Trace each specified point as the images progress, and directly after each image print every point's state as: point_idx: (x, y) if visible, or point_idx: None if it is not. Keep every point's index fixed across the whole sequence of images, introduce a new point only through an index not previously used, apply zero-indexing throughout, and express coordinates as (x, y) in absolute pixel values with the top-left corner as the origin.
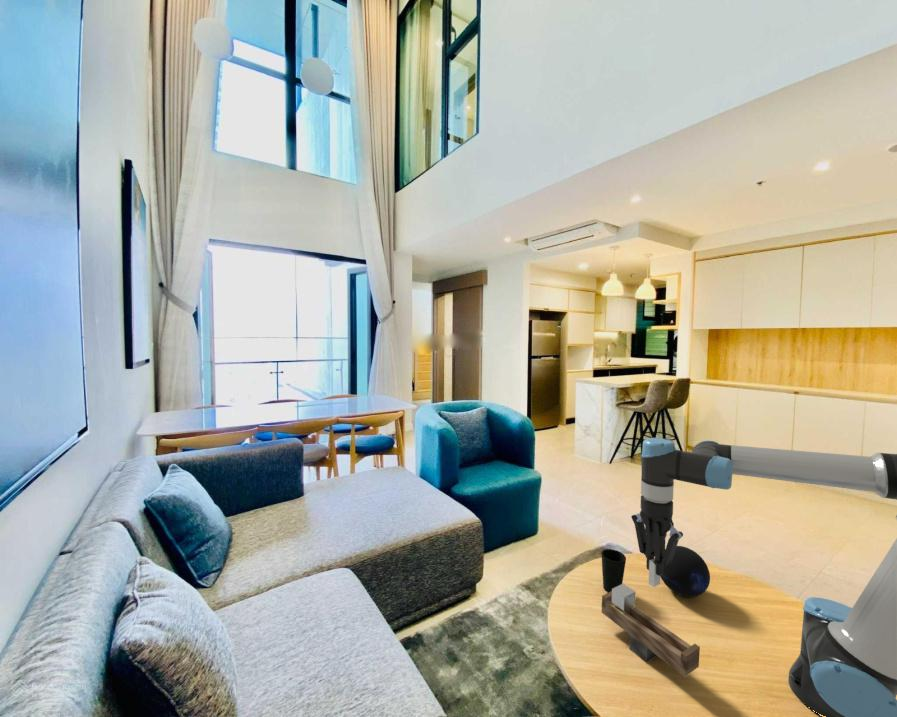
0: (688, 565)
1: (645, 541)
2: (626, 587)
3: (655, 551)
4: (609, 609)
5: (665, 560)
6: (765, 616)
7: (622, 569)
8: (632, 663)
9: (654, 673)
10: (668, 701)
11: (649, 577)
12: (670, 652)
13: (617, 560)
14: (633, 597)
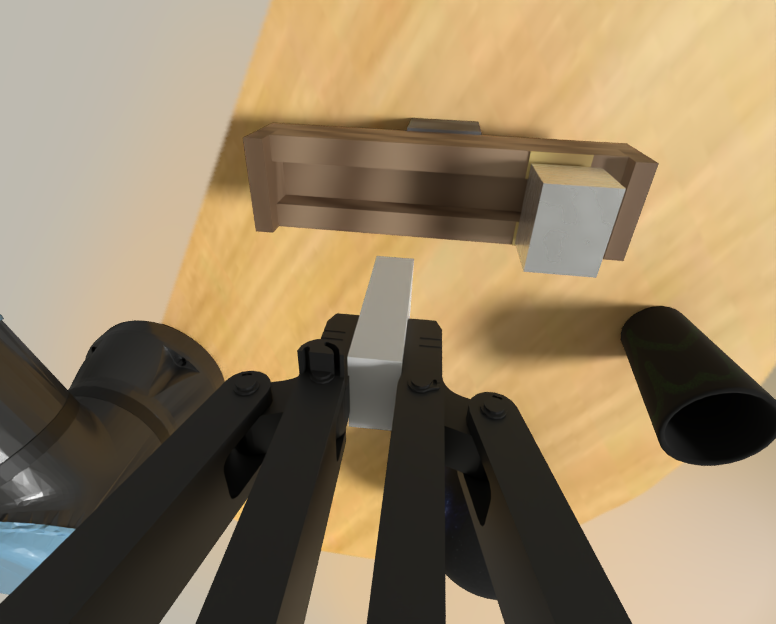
0: (462, 534)
1: (489, 536)
2: (570, 264)
3: (320, 454)
4: (597, 151)
5: (219, 407)
6: (336, 495)
7: (650, 394)
8: (438, 67)
9: (374, 99)
10: (291, 29)
11: (407, 281)
12: (310, 134)
13: (690, 428)
14: (522, 247)
